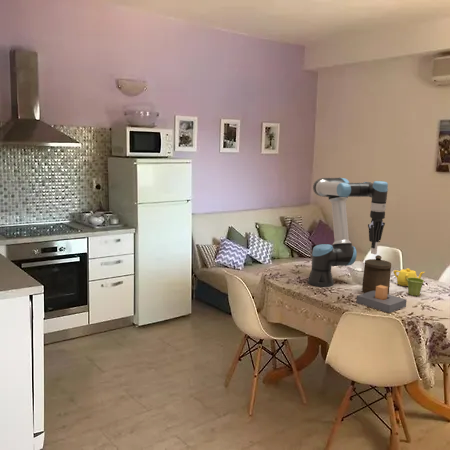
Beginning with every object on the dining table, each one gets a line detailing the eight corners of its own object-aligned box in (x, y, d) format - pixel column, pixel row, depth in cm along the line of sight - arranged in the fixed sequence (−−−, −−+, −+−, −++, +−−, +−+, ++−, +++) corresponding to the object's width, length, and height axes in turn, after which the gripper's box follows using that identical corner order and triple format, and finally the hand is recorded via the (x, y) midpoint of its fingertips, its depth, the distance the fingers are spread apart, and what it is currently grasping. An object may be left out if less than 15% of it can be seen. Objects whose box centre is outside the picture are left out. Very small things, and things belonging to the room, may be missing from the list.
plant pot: (424, 293, 297) (425, 279, 296) (421, 298, 289) (422, 283, 288) (407, 290, 302) (408, 276, 300) (403, 294, 294) (405, 280, 292)
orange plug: (374, 302, 276) (375, 286, 274) (379, 301, 279) (380, 284, 277) (382, 304, 272) (383, 288, 271) (386, 303, 275) (388, 286, 274)
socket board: (356, 302, 278) (356, 295, 277) (373, 297, 288) (373, 290, 288) (389, 312, 263) (389, 305, 262) (405, 306, 273) (406, 299, 273)
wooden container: (391, 292, 299) (395, 255, 295) (384, 298, 286) (388, 260, 283) (366, 287, 307) (369, 251, 303) (358, 293, 294) (361, 256, 290)
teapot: (410, 281, 322) (411, 265, 320) (423, 287, 310) (425, 270, 308) (391, 282, 318) (392, 266, 316) (404, 288, 306) (405, 272, 304)
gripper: (377, 213, 266) (372, 257, 271) (390, 210, 275) (386, 253, 280) (364, 210, 272) (360, 253, 277) (378, 208, 280) (374, 250, 285)
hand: (373, 253), depth 278 cm, fingers closed
